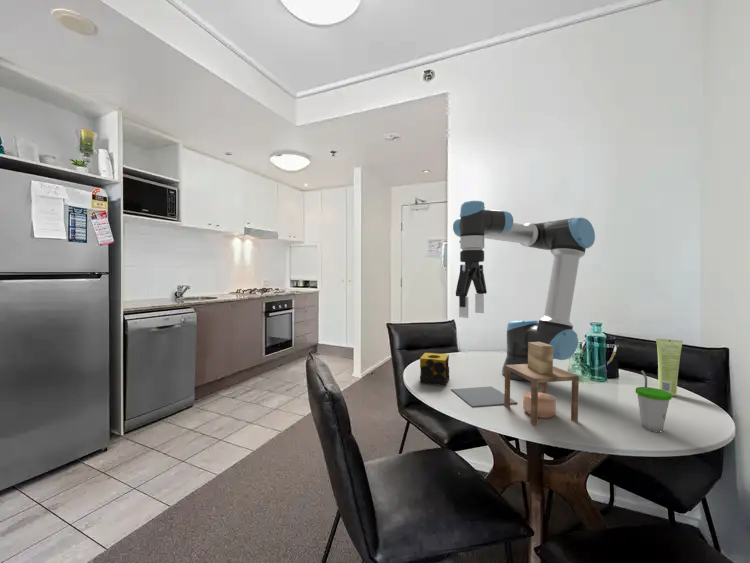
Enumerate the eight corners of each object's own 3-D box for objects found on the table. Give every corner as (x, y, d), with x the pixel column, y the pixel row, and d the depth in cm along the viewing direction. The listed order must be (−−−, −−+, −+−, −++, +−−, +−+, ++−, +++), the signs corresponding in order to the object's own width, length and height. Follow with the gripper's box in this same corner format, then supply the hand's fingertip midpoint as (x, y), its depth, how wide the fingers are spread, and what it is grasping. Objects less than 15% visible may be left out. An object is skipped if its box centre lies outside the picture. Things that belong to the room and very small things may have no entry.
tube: (664, 390, 125) (666, 337, 125) (681, 395, 120) (682, 340, 120) (654, 392, 123) (656, 338, 123) (670, 397, 118) (672, 341, 118)
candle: (449, 378, 138) (449, 354, 138) (446, 386, 129) (446, 360, 128) (424, 376, 142) (424, 352, 141) (419, 383, 132) (419, 357, 132)
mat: (491, 387, 128) (491, 386, 128) (517, 403, 112) (517, 402, 112) (451, 390, 125) (451, 389, 125) (472, 407, 109) (472, 406, 109)
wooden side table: (543, 402, 113) (545, 338, 113) (577, 421, 99) (579, 348, 98) (504, 405, 110) (505, 340, 110) (533, 425, 96) (534, 350, 96)
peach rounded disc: (542, 406, 110) (542, 390, 110) (562, 418, 101) (563, 401, 101) (516, 408, 108) (517, 392, 108) (535, 420, 99) (535, 403, 99)
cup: (673, 438, 89) (675, 380, 89) (636, 430, 94) (637, 375, 93) (667, 426, 96) (669, 373, 96) (633, 420, 100) (634, 369, 100)
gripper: (475, 251, 124) (474, 310, 124) (444, 248, 104) (444, 318, 104) (496, 250, 119) (495, 311, 120) (468, 247, 99) (468, 320, 100)
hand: (471, 315), depth 112 cm, fingers open, 13 cm apart
